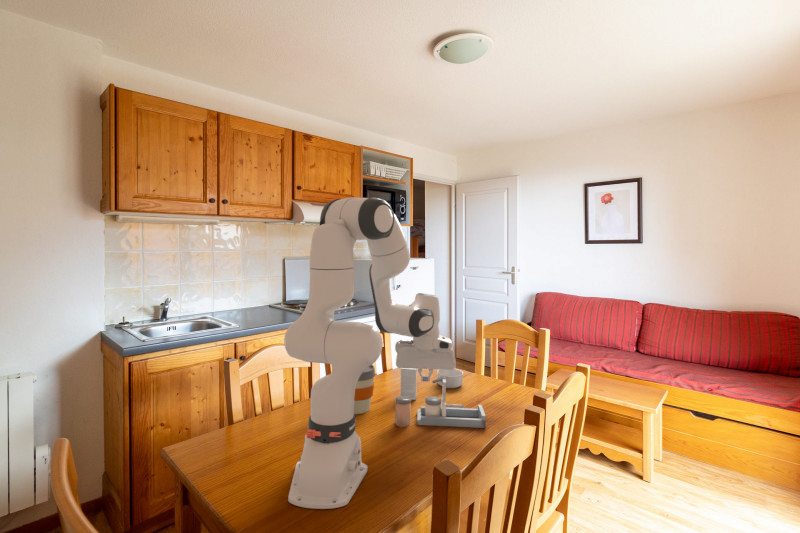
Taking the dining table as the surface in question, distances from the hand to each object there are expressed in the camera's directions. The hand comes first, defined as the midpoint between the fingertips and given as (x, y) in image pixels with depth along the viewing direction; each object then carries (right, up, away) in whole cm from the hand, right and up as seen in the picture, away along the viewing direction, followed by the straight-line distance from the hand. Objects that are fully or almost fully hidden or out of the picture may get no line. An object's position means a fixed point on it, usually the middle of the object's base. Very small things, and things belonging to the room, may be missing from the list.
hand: (425, 380), depth 130 cm
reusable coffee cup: (-24, -13, +8) cm, 28 cm away
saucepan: (+10, -12, +30) cm, 34 cm away
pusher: (+9, -13, 0) cm, 16 cm away
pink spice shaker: (-8, -13, -3) cm, 16 cm away
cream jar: (+3, -13, 0) cm, 13 cm away
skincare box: (-5, -12, +19) cm, 23 cm away
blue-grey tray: (+9, -13, 0) cm, 16 cm away
